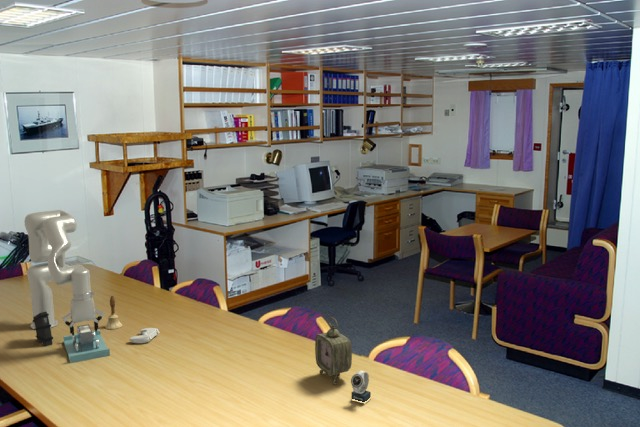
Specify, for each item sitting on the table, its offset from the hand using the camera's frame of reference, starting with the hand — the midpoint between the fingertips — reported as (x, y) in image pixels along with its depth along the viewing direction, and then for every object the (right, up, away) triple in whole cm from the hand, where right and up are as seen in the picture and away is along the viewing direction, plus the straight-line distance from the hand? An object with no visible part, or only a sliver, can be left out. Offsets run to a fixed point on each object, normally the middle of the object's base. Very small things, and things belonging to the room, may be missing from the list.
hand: (84, 332), depth 258 cm
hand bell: (+3, -3, +28) cm, 29 cm away
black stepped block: (-23, -6, +9) cm, 26 cm away
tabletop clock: (+112, -12, -29) cm, 116 cm away
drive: (0, -6, +1) cm, 6 cm away
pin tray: (0, -8, +1) cm, 8 cm away
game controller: (+24, -6, +13) cm, 27 cm away
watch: (+121, -15, -47) cm, 131 cm away
